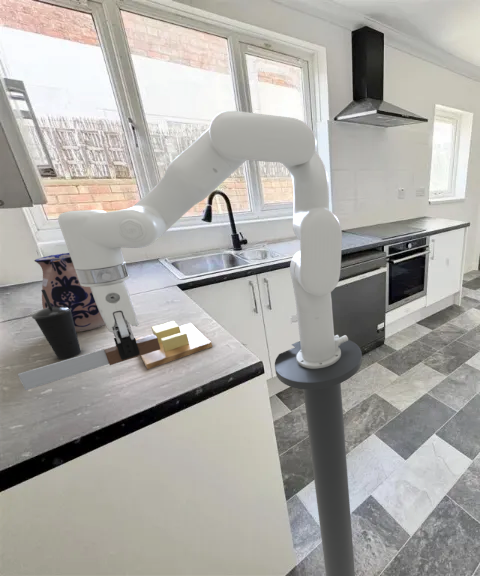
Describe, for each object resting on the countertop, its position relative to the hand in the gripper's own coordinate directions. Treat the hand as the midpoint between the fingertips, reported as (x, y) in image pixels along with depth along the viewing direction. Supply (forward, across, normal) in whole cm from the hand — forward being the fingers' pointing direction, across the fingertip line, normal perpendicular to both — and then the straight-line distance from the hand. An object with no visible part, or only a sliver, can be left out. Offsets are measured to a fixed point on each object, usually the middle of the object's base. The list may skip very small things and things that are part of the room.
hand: (129, 353), depth 67 cm
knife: (+1, 0, +5) cm, 5 cm away
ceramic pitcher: (+12, +61, +5) cm, 63 cm away
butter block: (+10, +26, -11) cm, 30 cm away
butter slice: (+10, +17, -11) cm, 23 cm away
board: (+11, +22, -11) cm, 27 cm away
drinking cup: (+12, +38, +11) cm, 41 cm away
